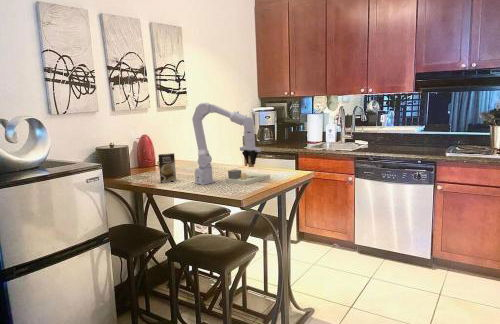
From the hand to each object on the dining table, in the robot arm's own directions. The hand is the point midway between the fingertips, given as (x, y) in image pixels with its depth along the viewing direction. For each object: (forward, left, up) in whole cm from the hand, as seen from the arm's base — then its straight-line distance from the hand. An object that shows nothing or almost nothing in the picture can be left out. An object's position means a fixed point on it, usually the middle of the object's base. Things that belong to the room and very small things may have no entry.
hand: (251, 164), depth 207 cm
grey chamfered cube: (-7, +7, -7) cm, 12 cm away
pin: (0, 0, -1) cm, 1 cm away
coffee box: (-27, +42, -10) cm, 51 cm away
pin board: (0, +3, -9) cm, 10 cm away
